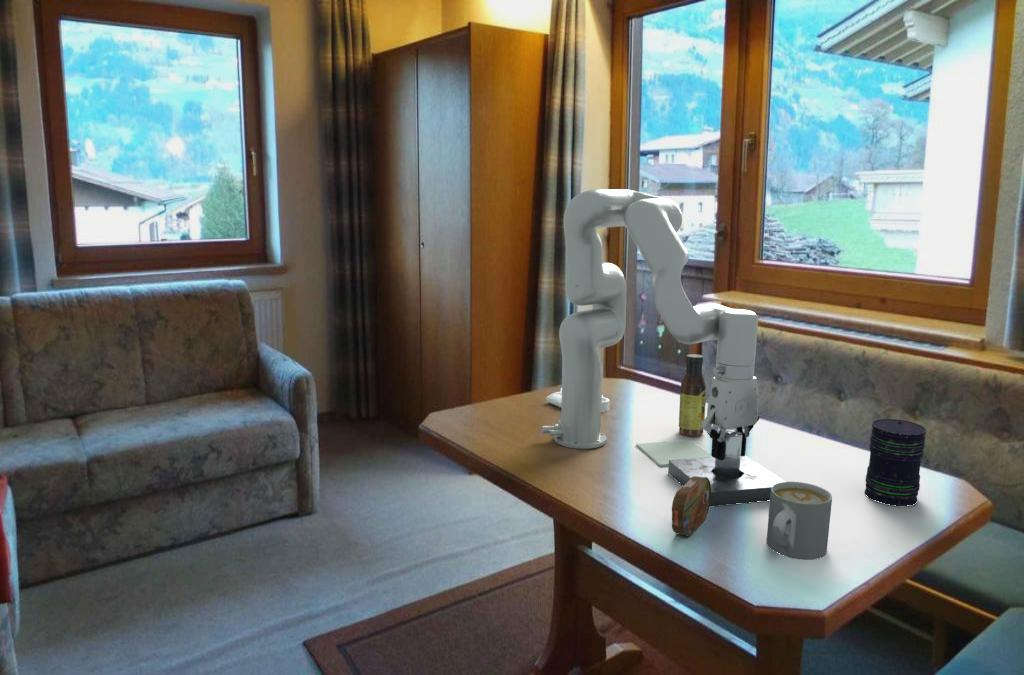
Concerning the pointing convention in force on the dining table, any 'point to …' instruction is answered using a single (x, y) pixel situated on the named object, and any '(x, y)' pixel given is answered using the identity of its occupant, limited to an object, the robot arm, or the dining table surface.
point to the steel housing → (728, 480)
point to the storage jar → (895, 461)
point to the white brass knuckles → (557, 400)
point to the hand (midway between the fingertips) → (728, 455)
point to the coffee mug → (799, 520)
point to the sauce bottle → (692, 398)
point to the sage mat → (672, 451)
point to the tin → (691, 505)
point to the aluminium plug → (730, 456)
